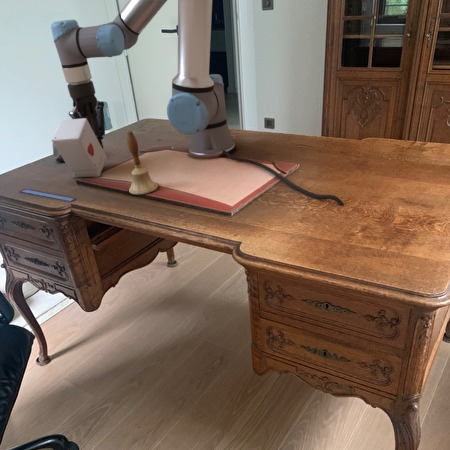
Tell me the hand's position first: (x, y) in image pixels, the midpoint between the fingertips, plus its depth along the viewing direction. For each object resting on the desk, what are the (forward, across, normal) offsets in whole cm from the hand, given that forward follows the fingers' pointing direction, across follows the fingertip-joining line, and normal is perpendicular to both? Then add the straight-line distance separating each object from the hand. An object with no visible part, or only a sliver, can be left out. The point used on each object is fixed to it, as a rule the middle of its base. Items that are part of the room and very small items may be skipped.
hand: (100, 160), depth 144 cm
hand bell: (+2, +11, +27) cm, 29 cm away
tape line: (+2, +24, +1) cm, 24 cm away
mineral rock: (+3, -2, -16) cm, 16 cm away
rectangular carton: (+1, +5, +1) cm, 5 cm away
